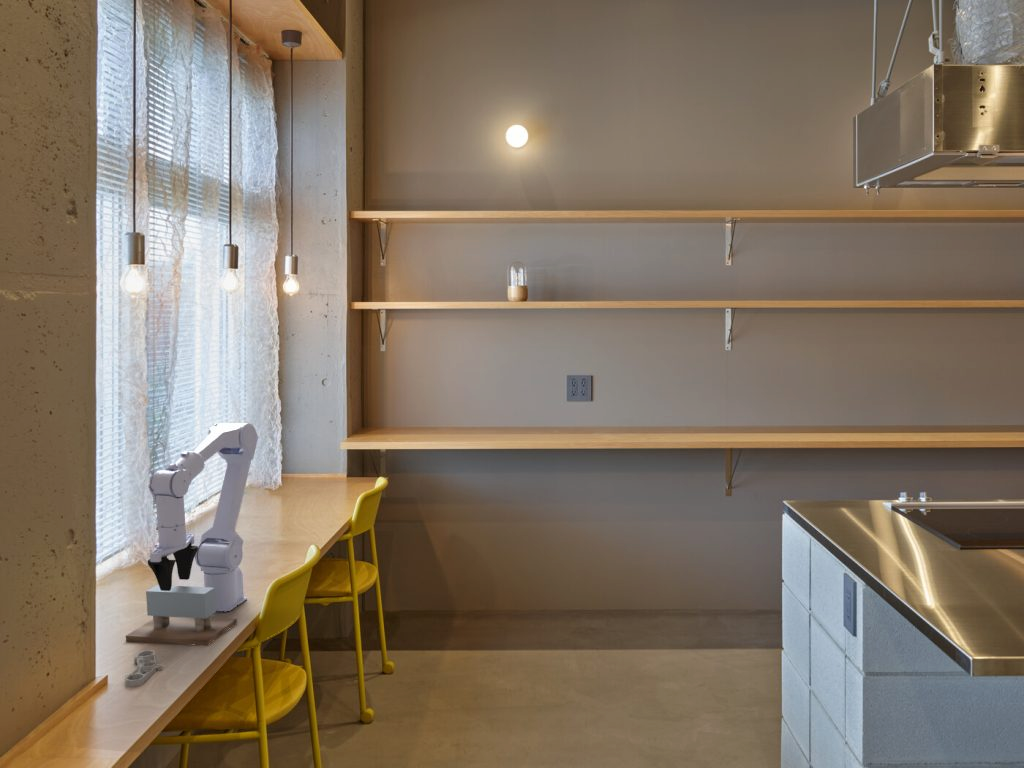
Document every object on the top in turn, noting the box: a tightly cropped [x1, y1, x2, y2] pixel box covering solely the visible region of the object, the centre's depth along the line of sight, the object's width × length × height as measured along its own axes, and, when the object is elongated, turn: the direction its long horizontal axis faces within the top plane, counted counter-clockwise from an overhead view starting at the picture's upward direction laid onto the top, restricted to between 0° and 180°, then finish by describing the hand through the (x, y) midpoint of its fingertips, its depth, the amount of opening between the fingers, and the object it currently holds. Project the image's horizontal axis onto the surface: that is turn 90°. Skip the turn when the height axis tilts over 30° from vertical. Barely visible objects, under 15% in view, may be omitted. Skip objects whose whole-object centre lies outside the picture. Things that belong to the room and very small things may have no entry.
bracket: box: [124, 649, 164, 688], centre depth 180 cm, size 8×2×15 cm
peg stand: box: [125, 616, 238, 646], centre depth 201 cm, size 13×19×4 cm
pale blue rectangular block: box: [145, 584, 217, 619], centre depth 200 cm, size 14×4×6 cm, turn 79°
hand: (175, 584), depth 201 cm, fingers open, 7 cm apart
